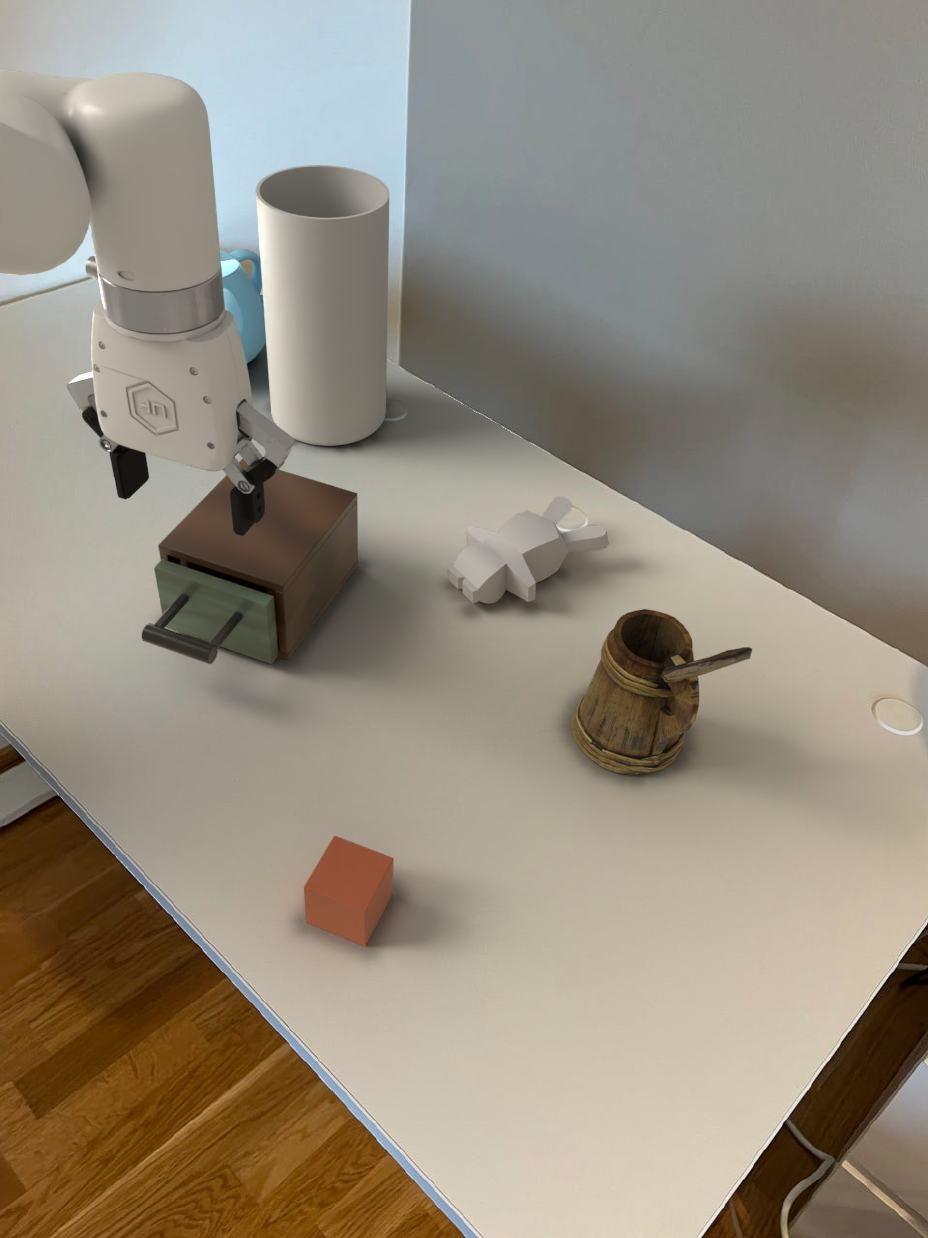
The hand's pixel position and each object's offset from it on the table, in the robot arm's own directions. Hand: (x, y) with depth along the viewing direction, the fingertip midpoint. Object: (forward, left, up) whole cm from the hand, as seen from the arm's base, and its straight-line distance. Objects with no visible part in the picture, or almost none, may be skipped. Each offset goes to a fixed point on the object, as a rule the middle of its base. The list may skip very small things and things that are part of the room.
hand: (190, 506), depth 79 cm
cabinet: (0, +9, -16) cm, 19 cm away
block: (+21, -17, -16) cm, 32 cm away
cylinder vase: (-8, +37, -16) cm, 41 cm away
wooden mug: (+36, +5, -16) cm, 40 cm away
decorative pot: (-27, +41, -16) cm, 52 cm away
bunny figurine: (+20, +22, -16) cm, 34 cm away
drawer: (0, +4, -15) cm, 16 cm away
